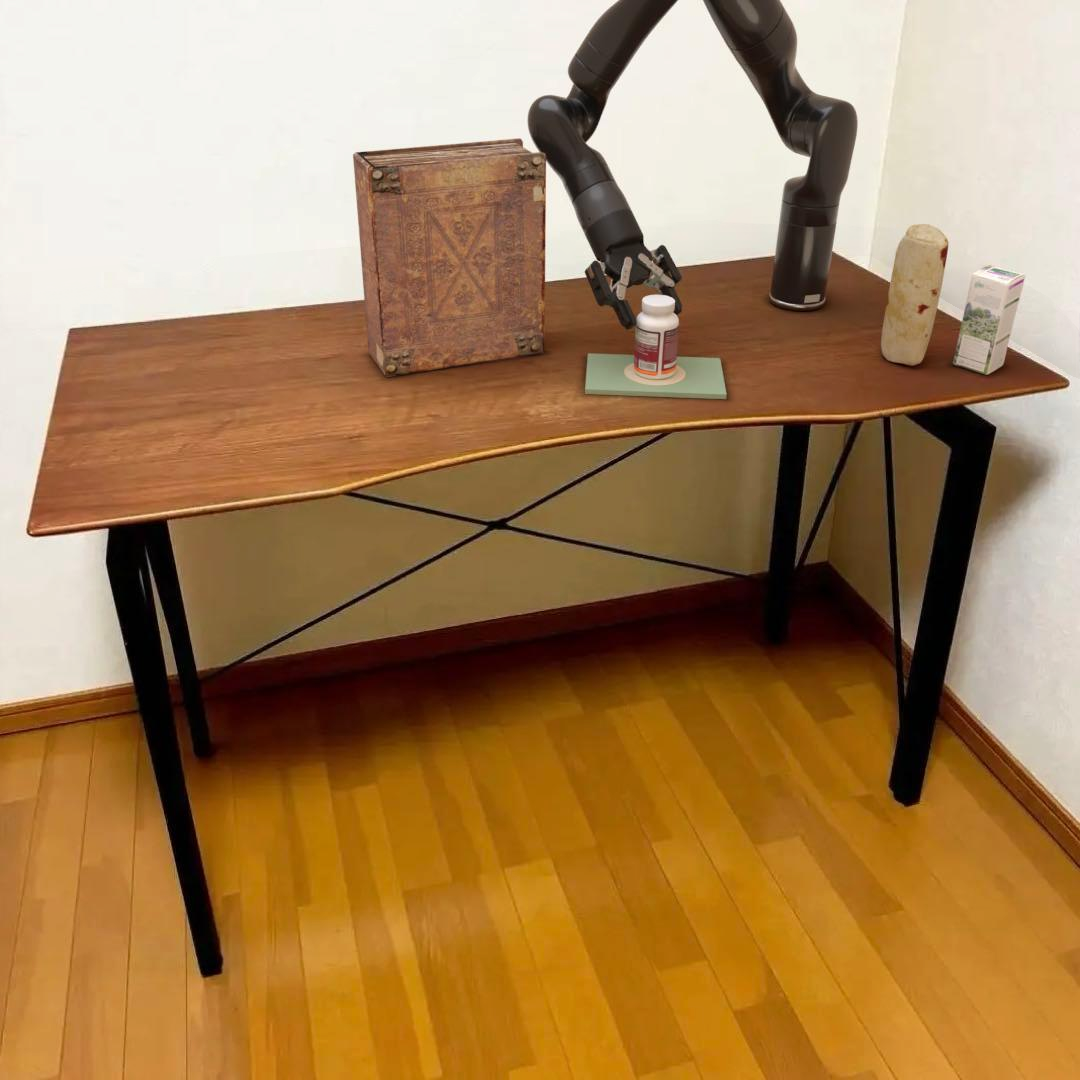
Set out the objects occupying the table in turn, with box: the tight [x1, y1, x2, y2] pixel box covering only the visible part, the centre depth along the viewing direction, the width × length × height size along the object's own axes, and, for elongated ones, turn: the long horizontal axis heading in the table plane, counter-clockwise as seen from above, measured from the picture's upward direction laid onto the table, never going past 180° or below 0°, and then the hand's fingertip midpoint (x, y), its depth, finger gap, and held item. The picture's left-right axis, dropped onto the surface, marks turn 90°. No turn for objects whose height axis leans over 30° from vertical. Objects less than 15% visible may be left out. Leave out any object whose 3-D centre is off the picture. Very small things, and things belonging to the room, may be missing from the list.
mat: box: [584, 353, 728, 400], centre depth 164 cm, size 13×20×1 cm, turn 86°
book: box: [352, 137, 547, 378], centre depth 163 cm, size 25×9×30 cm, turn 112°
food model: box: [880, 223, 950, 366], centre depth 166 cm, size 10×7×20 cm
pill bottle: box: [633, 294, 680, 379], centre depth 161 cm, size 6×6×11 cm
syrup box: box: [952, 264, 1026, 376], centre depth 165 cm, size 6×6×14 cm
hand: (655, 320), depth 160 cm, fingers open, 8 cm apart
